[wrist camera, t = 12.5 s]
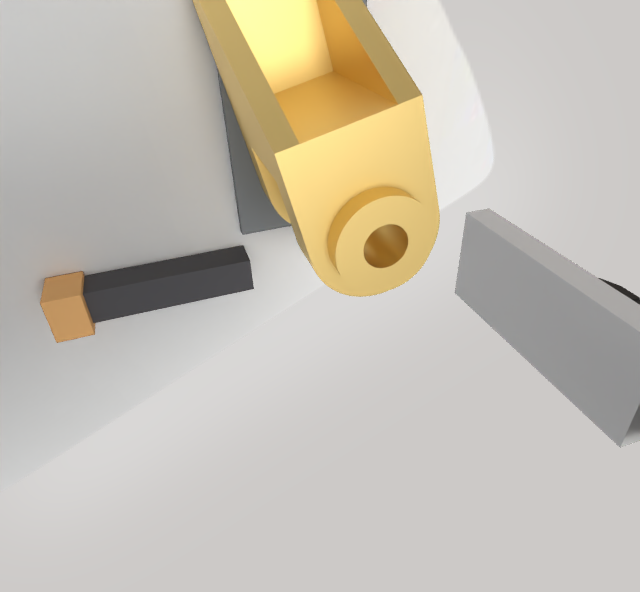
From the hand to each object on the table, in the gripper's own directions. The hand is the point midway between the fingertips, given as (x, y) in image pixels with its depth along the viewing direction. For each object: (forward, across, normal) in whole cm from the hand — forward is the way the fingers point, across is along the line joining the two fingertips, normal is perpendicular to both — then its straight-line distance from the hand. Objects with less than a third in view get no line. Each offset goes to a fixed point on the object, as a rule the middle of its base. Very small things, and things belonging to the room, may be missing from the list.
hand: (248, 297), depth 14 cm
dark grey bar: (+32, -3, -17) cm, 36 cm away
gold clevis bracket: (+31, +10, -3) cm, 33 cm away
